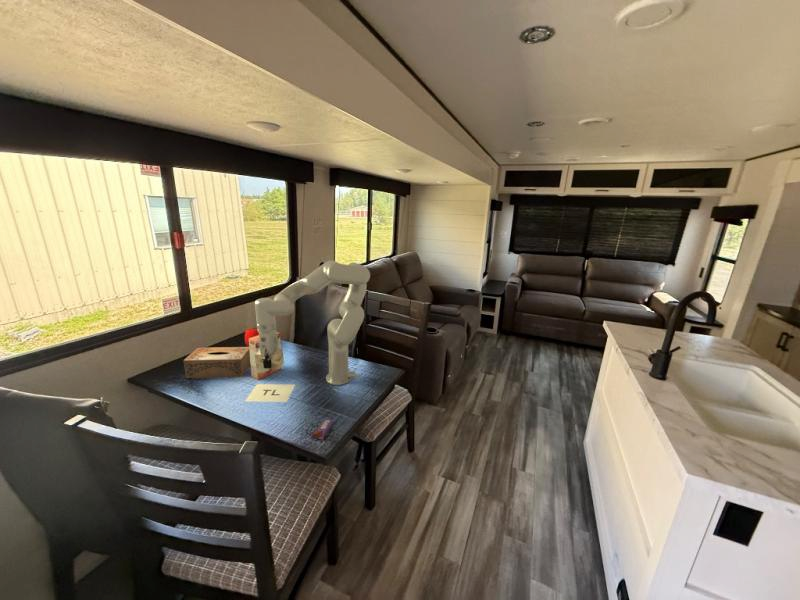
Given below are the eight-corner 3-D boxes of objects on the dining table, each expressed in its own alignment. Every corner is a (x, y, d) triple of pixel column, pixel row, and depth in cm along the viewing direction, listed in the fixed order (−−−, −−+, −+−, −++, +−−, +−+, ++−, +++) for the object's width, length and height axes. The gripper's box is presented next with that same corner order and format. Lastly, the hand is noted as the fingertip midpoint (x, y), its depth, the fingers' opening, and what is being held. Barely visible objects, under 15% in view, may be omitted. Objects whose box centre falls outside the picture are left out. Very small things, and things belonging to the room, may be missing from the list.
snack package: (324, 416, 124) (336, 418, 123) (325, 420, 124) (336, 422, 123) (310, 434, 113) (322, 437, 112) (310, 439, 114) (322, 442, 112)
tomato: (258, 353, 177) (256, 332, 174) (240, 350, 180) (238, 329, 177) (271, 345, 188) (269, 325, 185) (253, 342, 191) (252, 323, 187)
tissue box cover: (186, 379, 148) (183, 360, 145) (200, 365, 162) (198, 347, 159) (242, 377, 152) (240, 359, 149) (251, 363, 166) (250, 346, 163)
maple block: (283, 362, 140) (282, 348, 138) (279, 369, 134) (278, 354, 132) (261, 362, 139) (260, 348, 137) (256, 369, 133) (254, 354, 131)
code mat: (295, 384, 147) (295, 384, 147) (286, 401, 134) (286, 401, 134) (257, 384, 146) (257, 384, 146) (244, 401, 133) (244, 401, 132)
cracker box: (258, 380, 149) (255, 341, 144) (251, 376, 152) (247, 338, 147) (282, 369, 161) (280, 332, 155) (275, 366, 164) (272, 329, 158)
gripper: (268, 334, 123) (272, 374, 128) (281, 319, 140) (284, 355, 145) (249, 334, 123) (254, 374, 128) (265, 319, 139) (268, 355, 144)
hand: (270, 363), depth 136 cm, fingers closed on maple block, 6 cm apart
